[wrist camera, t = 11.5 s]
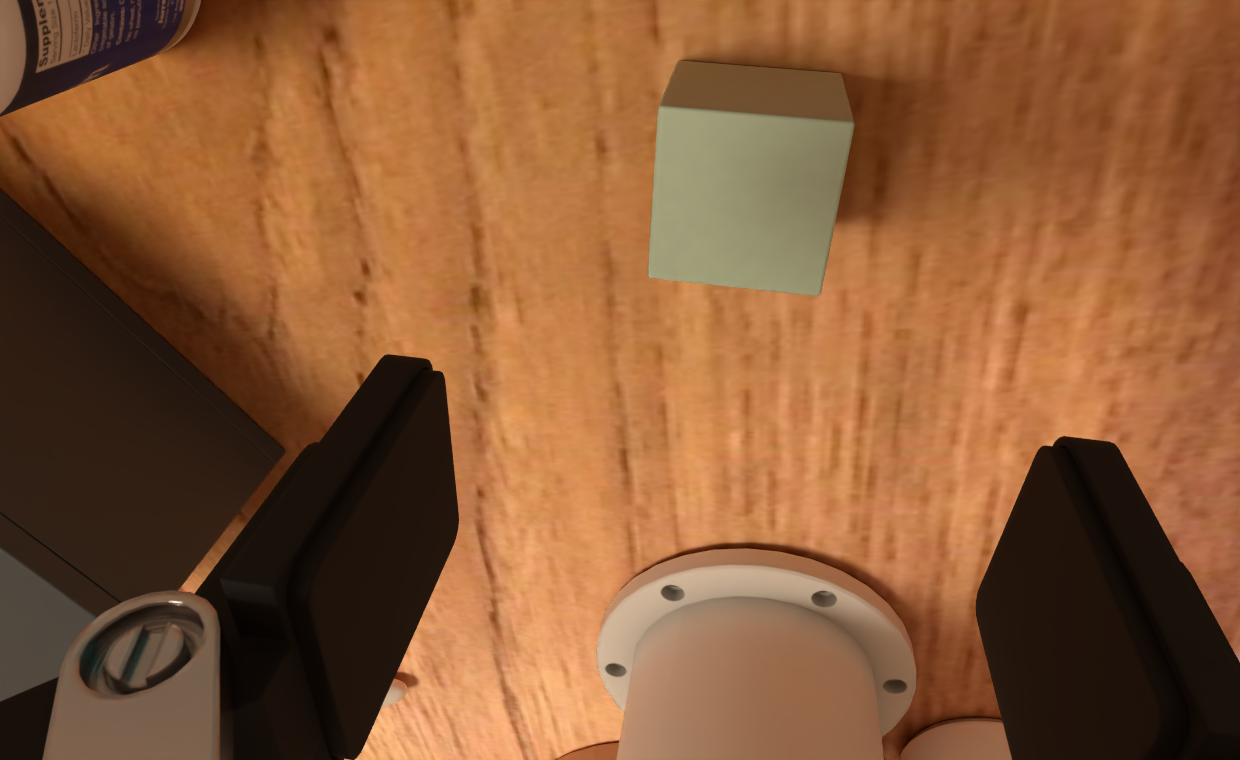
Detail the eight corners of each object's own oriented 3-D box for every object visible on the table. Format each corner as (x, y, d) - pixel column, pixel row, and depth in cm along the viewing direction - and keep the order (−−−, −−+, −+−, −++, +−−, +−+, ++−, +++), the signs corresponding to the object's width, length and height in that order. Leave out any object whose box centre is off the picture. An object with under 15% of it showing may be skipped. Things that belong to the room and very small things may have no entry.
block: (842, 72, 21) (855, 122, 17) (813, 226, 23) (820, 297, 20) (677, 59, 21) (657, 105, 18) (665, 212, 24) (647, 278, 20)
